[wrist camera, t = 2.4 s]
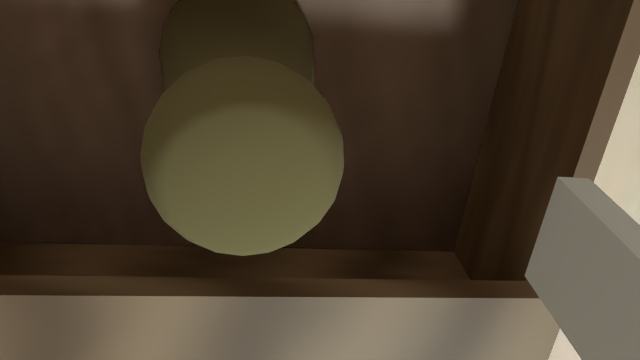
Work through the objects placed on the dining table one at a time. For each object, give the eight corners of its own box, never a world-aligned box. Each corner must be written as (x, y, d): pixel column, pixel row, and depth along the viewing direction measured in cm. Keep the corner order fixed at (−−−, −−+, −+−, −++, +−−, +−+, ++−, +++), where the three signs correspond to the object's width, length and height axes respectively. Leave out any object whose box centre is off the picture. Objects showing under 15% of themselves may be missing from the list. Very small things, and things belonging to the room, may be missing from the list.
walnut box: (-49, 256, 26) (-149, 402, 19) (-159, -310, 17) (-417, -421, 10) (465, 265, 30) (537, 387, 23) (589, -190, 21) (765, -212, 14)
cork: (223, -60, 22) (221, 6, 12) (345, 45, 24) (423, 169, 15) (127, 66, 24) (59, 212, 14) (250, 153, 26) (265, 328, 16)
